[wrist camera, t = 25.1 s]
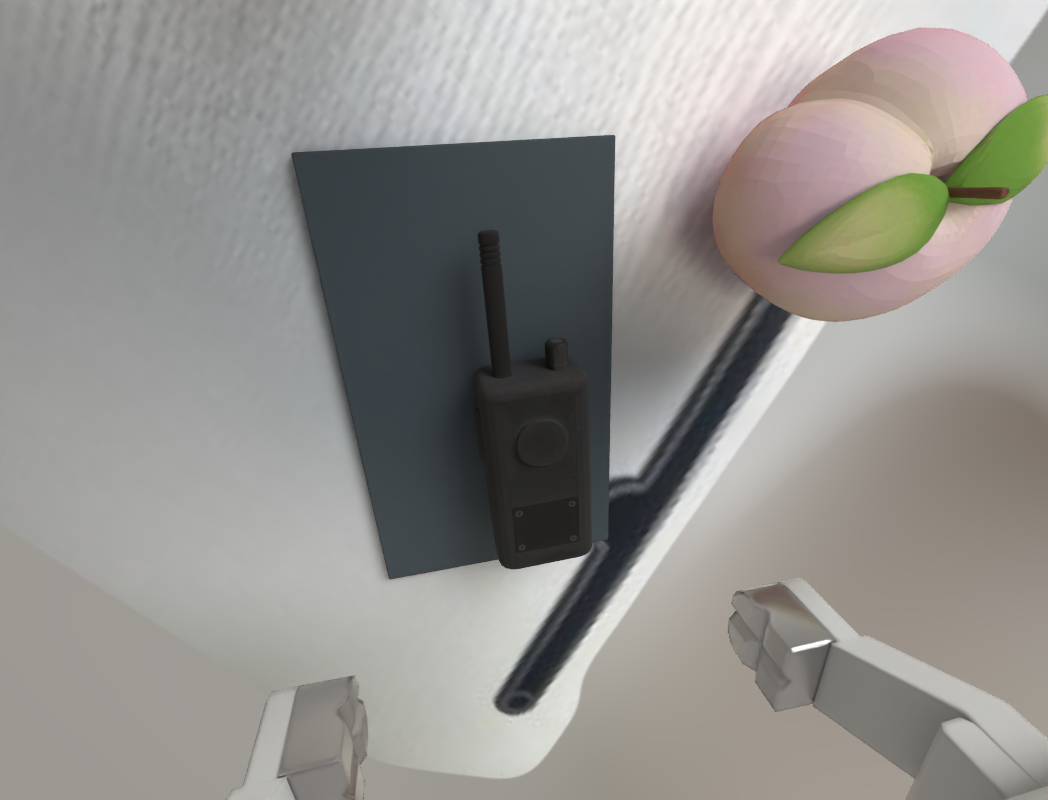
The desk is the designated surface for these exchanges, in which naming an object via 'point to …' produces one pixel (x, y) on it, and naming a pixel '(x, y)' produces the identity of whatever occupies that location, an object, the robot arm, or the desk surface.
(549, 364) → the walkie-talkie
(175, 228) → the desk surface
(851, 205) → the decorative fruit
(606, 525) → the mat
